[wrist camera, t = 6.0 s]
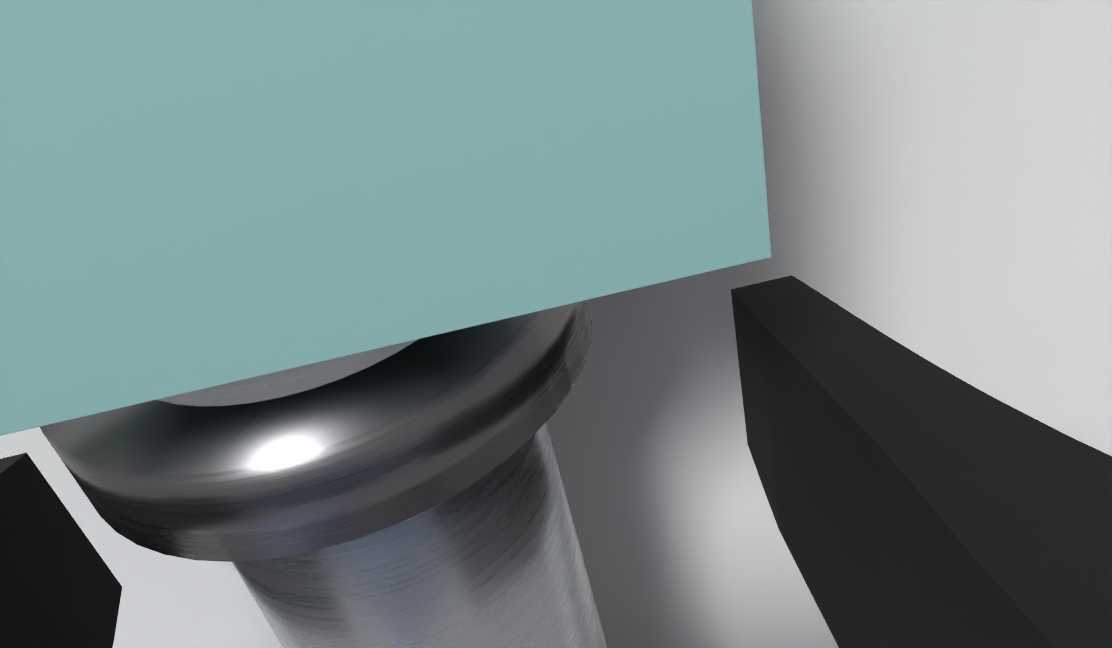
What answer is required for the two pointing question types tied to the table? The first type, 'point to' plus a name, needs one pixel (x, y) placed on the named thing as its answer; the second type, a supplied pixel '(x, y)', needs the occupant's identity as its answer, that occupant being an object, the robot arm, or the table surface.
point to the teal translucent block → (348, 177)
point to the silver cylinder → (369, 489)
